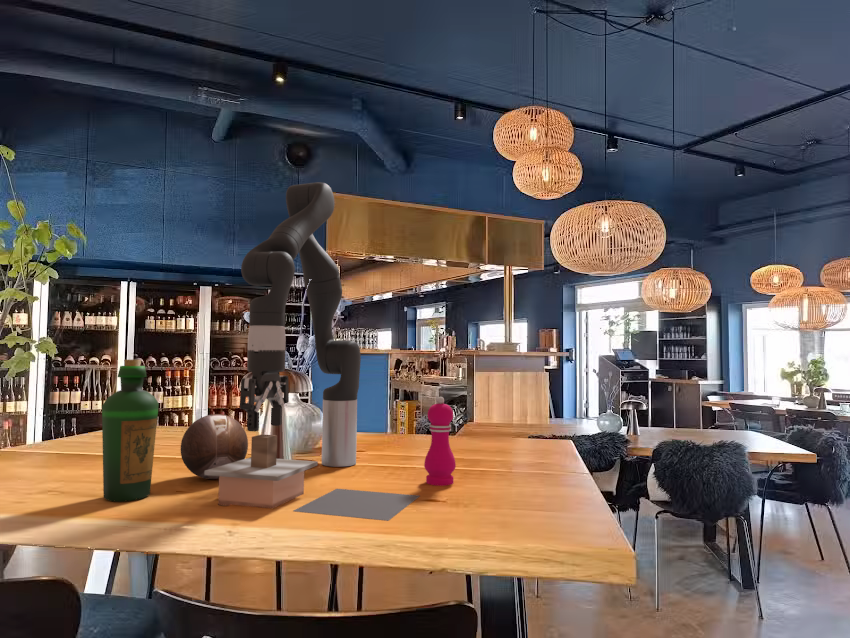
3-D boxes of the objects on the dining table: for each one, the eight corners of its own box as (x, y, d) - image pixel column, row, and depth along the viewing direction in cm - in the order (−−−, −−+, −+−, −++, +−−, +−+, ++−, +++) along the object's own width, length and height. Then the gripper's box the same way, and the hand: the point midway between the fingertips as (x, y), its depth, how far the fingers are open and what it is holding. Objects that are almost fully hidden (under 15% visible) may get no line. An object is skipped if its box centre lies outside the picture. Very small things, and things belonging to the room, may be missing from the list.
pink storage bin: (253, 491, 124) (254, 462, 124) (303, 495, 120) (304, 466, 121) (218, 504, 112) (219, 473, 113) (272, 510, 109) (273, 478, 109)
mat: (336, 490, 125) (336, 488, 125) (420, 497, 120) (420, 495, 120) (292, 513, 107) (292, 510, 107) (388, 522, 102) (388, 520, 102)
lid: (251, 460, 127) (252, 429, 127) (317, 465, 122) (318, 432, 123) (204, 474, 111) (205, 439, 112) (277, 480, 107) (278, 443, 107)
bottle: (146, 503, 113) (152, 360, 115) (88, 504, 111) (94, 359, 113) (162, 490, 124) (167, 359, 125) (109, 491, 122) (114, 359, 124)
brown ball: (198, 488, 125) (200, 419, 126) (168, 478, 136) (170, 414, 136) (259, 478, 137) (261, 414, 137) (227, 469, 147) (229, 410, 148)
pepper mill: (452, 488, 128) (453, 398, 129) (421, 486, 130) (422, 397, 131) (457, 481, 135) (458, 395, 137) (427, 479, 137) (428, 395, 138)
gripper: (269, 348, 126) (267, 423, 125) (229, 348, 112) (227, 432, 112) (300, 348, 124) (298, 424, 123) (263, 348, 110) (261, 434, 109)
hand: (265, 428), depth 117 cm, fingers open, 8 cm apart
